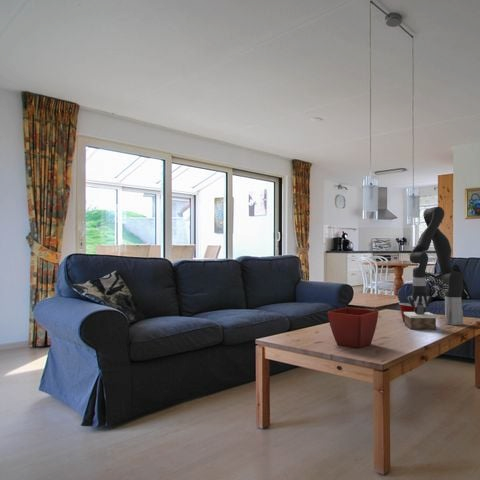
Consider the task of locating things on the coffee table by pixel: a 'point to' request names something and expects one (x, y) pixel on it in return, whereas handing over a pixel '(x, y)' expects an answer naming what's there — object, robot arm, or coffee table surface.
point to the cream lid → (420, 313)
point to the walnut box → (420, 323)
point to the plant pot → (353, 326)
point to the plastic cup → (406, 309)
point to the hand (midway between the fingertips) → (419, 313)
